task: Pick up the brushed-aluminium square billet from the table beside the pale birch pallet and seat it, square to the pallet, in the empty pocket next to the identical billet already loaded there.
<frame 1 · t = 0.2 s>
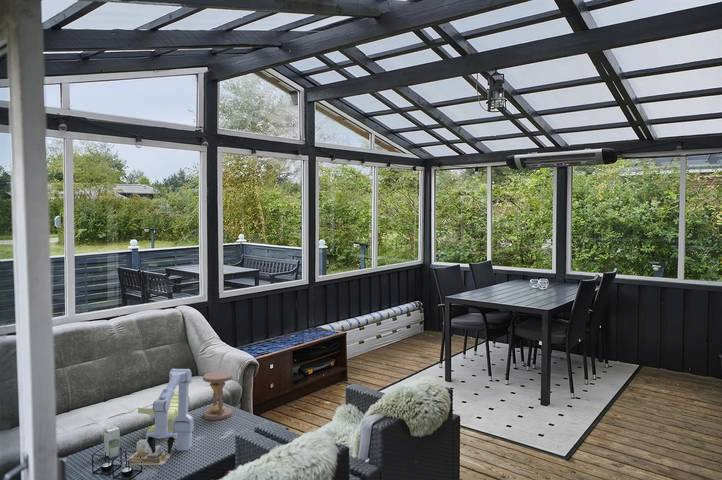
hand: (161, 452, 265), 10 cm above the table, tool pointing down, fingers open, 7 cm apart
slatted curved stool: (165, 430, 319), on the table
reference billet: (154, 459, 278), point 1 cm above the table, touching pallet
billet: (142, 452, 289), on the table
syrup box: (111, 456, 284), on the table
pallet: (148, 460, 278), on the table
hourglass: (217, 415, 344), on the table
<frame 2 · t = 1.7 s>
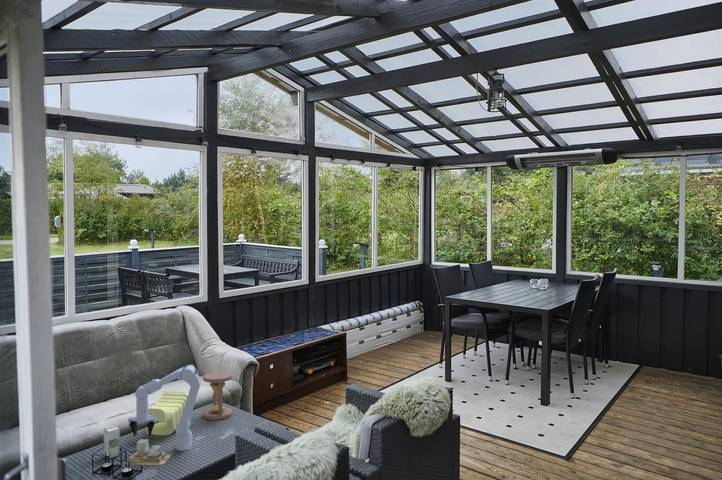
hand: (142, 435, 288), 9 cm above the table, tool pointing down, fingers open, 7 cm apart
nothing on the table moved.
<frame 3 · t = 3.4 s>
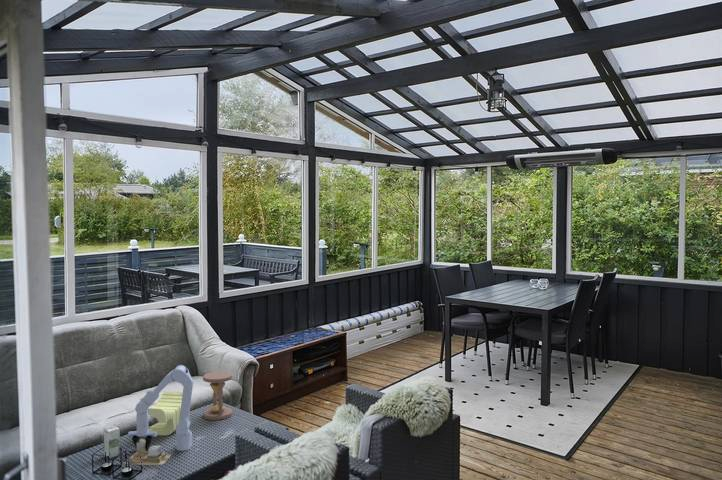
hand: (142, 449, 289), 1 cm above the table, tool pointing down, fingers closed on billet, 4 cm apart
billet: (142, 452, 289), on the table, touching gripper
everything else where it was.
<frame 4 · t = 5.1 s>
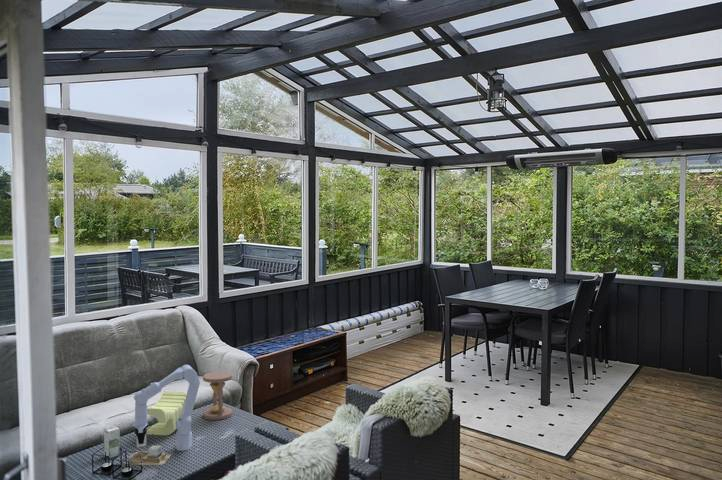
hand: (141, 441, 281), 8 cm above the table, tool pointing down, fingers closed on billet, 5 cm apart
billet: (141, 444, 282), point 7 cm above the table, touching gripper
everything else where it was.
when the fingers open (4 cm above the table, at t = 7.0 s): billet drops 1 cm, resting on pallet.
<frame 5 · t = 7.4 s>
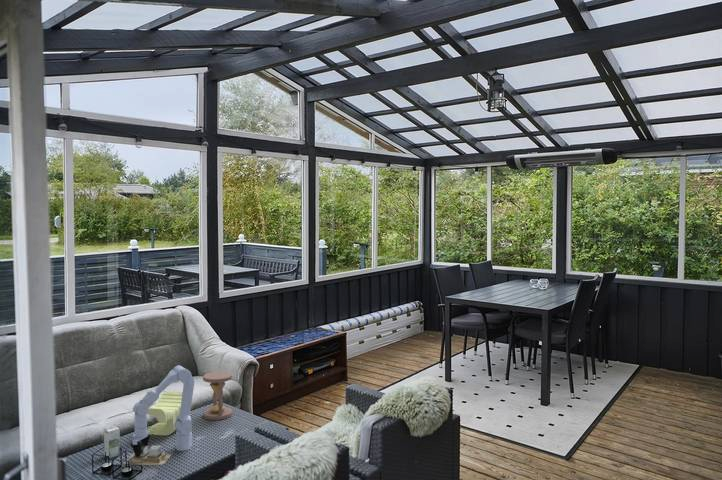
hand: (141, 453, 278), 4 cm above the table, tool pointing down, fingers open, 7 cm apart
billet: (141, 458, 278), point 1 cm above the table, touching pallet
everything else where it was.
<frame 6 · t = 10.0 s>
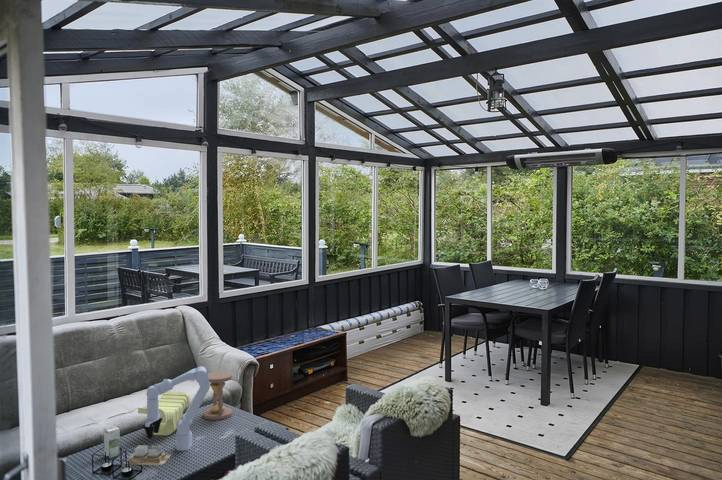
hand: (153, 435, 287), 9 cm above the table, tool pointing down, fingers open, 7 cm apart
nothing on the table moved.
at the end: billet 0.1 cm from the target spot on the pallet, point 1.0 cm above the pallet's base; billet tilted 0°; the gripper is holding nothing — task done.
